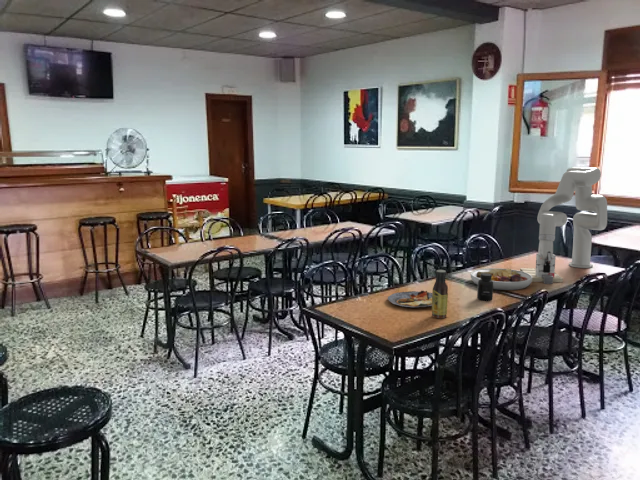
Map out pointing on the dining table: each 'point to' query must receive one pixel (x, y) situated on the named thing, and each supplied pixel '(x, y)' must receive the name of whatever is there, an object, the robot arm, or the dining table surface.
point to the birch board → (540, 279)
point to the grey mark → (548, 279)
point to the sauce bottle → (440, 295)
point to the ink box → (540, 266)
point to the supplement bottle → (485, 288)
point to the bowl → (504, 278)
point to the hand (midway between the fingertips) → (544, 270)
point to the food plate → (412, 299)
